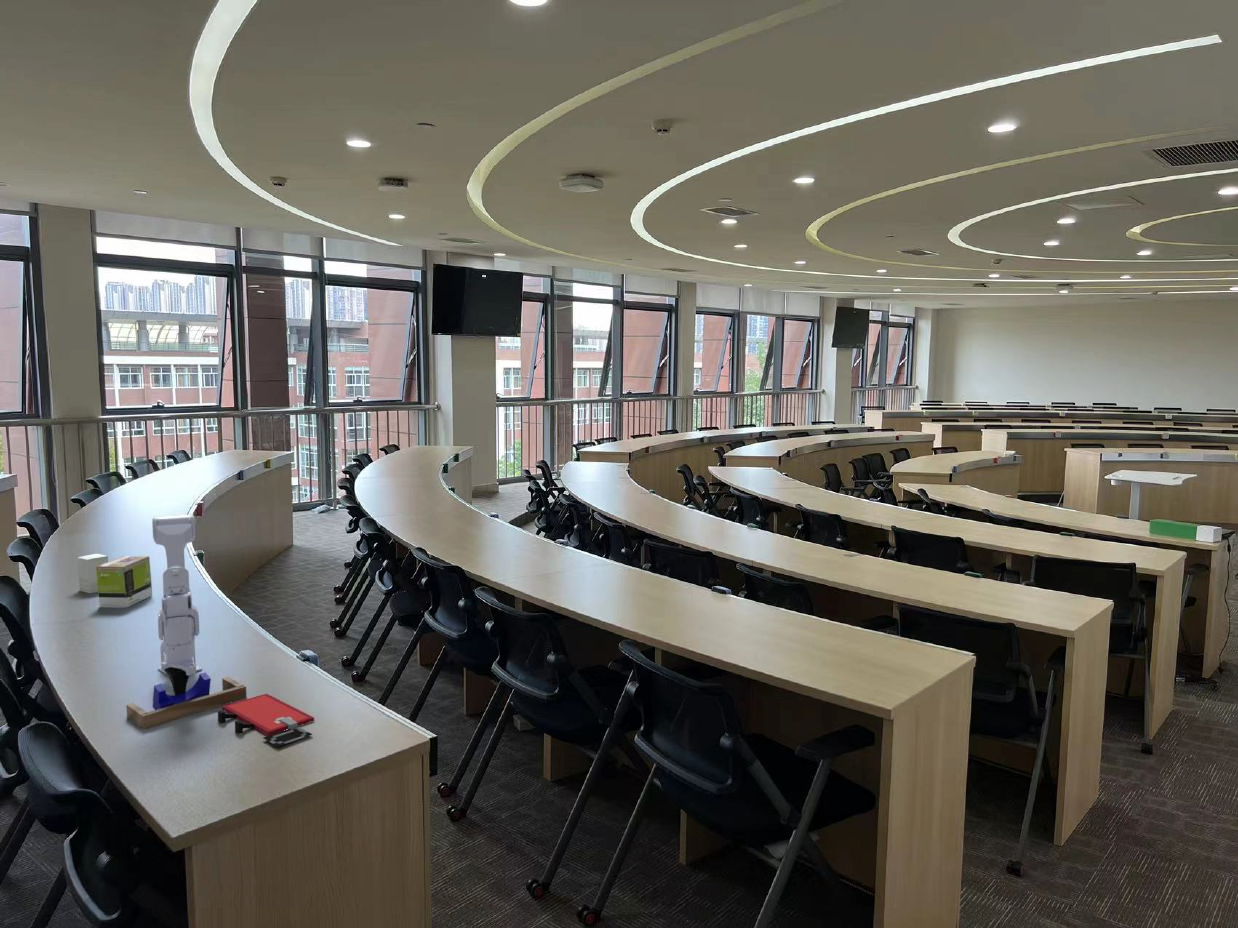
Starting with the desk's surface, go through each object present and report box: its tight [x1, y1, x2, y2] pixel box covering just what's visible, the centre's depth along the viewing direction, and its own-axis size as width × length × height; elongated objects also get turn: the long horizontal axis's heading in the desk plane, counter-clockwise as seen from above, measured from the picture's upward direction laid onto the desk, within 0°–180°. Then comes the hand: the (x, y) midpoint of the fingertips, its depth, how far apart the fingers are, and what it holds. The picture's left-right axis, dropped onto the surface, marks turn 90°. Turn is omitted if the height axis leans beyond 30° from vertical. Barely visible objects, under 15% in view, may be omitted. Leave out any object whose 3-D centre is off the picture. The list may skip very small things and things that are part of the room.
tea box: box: [96, 555, 153, 609], centre depth 289 cm, size 15×10×15 cm, turn 178°
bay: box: [126, 676, 248, 730], centre depth 203 cm, size 10×24×3 cm, turn 140°
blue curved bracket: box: [152, 672, 211, 710], centre depth 203 cm, size 12×4×6 cm, turn 139°
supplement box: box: [76, 553, 109, 594], centre depth 303 cm, size 7×7×13 cm
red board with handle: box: [217, 693, 315, 747], centre depth 195 cm, size 30×3×15 cm
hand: (180, 695), depth 205 cm, fingers closed, pressing on blue curved bracket
